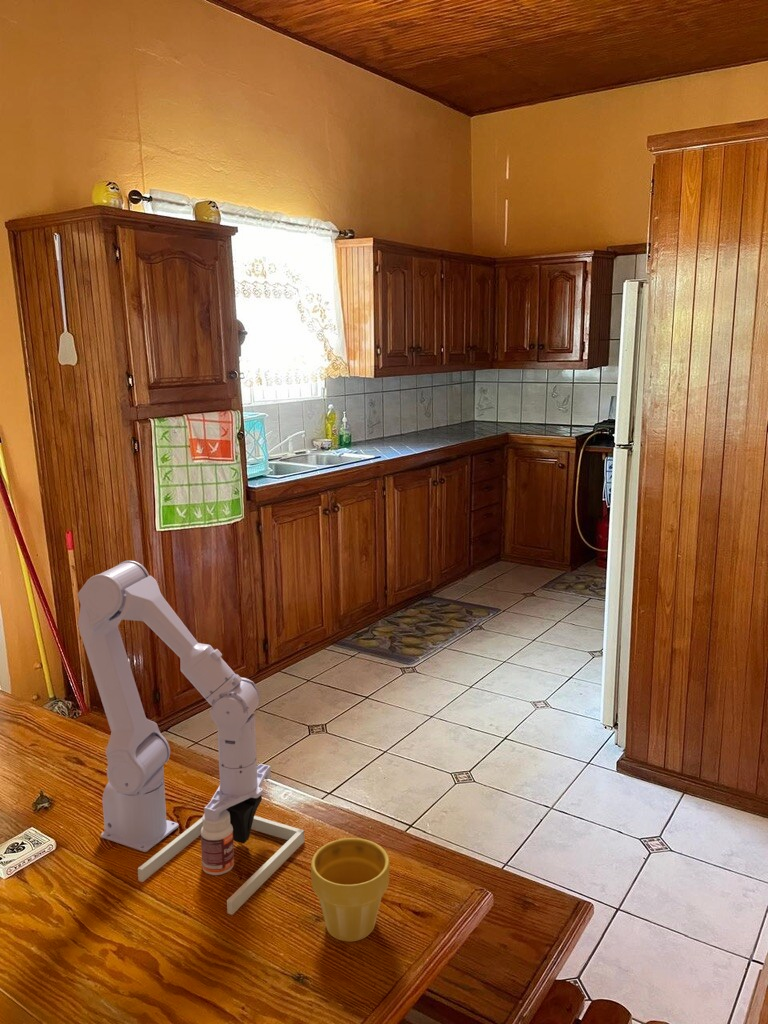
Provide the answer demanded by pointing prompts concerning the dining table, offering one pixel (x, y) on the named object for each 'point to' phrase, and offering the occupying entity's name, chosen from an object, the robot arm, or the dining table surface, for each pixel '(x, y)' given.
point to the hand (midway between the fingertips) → (240, 839)
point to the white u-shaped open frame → (257, 879)
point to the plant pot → (350, 885)
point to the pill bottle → (217, 845)
